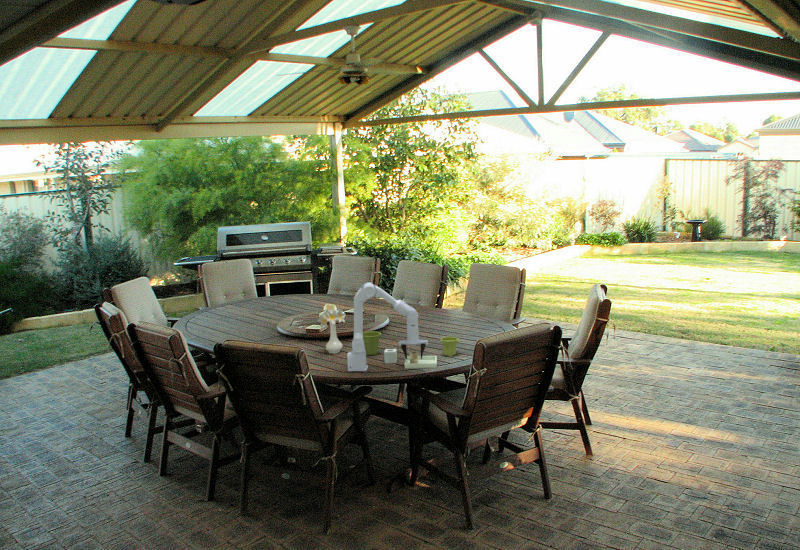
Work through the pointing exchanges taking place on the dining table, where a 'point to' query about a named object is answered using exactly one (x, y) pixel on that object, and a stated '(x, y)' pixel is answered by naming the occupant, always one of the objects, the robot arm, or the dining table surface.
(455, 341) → the plant pot
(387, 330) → the dining table surface
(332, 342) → the flower vase
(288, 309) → the dining table surface
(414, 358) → the small block
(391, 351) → the large block
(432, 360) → the tray
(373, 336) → the plant pot
